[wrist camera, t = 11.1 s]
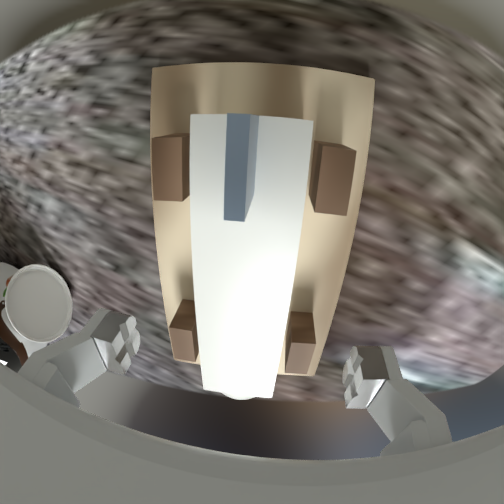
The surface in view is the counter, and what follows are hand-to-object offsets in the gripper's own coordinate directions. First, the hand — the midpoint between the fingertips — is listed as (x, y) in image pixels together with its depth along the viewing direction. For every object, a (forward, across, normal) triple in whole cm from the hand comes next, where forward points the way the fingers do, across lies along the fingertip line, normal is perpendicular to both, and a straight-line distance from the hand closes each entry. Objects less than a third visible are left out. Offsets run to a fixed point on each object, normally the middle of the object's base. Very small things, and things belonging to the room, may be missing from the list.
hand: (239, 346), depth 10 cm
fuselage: (+8, 0, +2) cm, 8 cm away
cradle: (+9, +1, +1) cm, 9 cm away
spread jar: (+9, +23, +8) cm, 25 cm away
